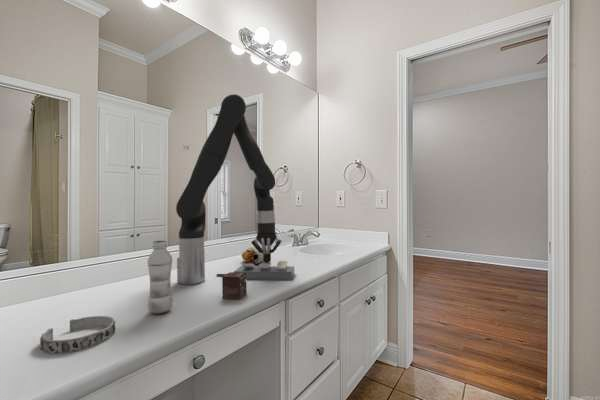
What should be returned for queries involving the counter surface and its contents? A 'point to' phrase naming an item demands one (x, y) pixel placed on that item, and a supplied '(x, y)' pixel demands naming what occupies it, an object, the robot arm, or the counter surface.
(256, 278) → the power strip
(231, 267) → the counter surface
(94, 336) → the bracelet
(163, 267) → the plastic bottle
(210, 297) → the counter surface
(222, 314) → the counter surface
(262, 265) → the rocker middle
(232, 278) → the box
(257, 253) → the nautilus
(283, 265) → the rocker right
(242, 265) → the rocker left
